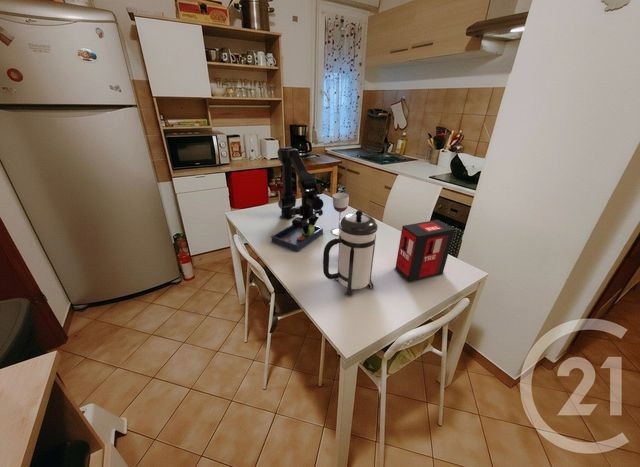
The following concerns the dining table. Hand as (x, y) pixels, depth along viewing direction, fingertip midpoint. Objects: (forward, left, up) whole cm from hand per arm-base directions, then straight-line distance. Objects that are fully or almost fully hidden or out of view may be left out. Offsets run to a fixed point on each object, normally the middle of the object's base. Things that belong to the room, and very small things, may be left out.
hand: (308, 232), depth 133 cm
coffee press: (+23, +36, -2) cm, 43 cm away
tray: (+5, -3, -2) cm, 6 cm away
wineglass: (-12, +11, -2) cm, 17 cm away
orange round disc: (+7, 0, -1) cm, 7 cm away
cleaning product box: (0, +55, -2) cm, 55 cm away
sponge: (0, 0, -1) cm, 1 cm away
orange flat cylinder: (+13, -4, -1) cm, 13 cm away
